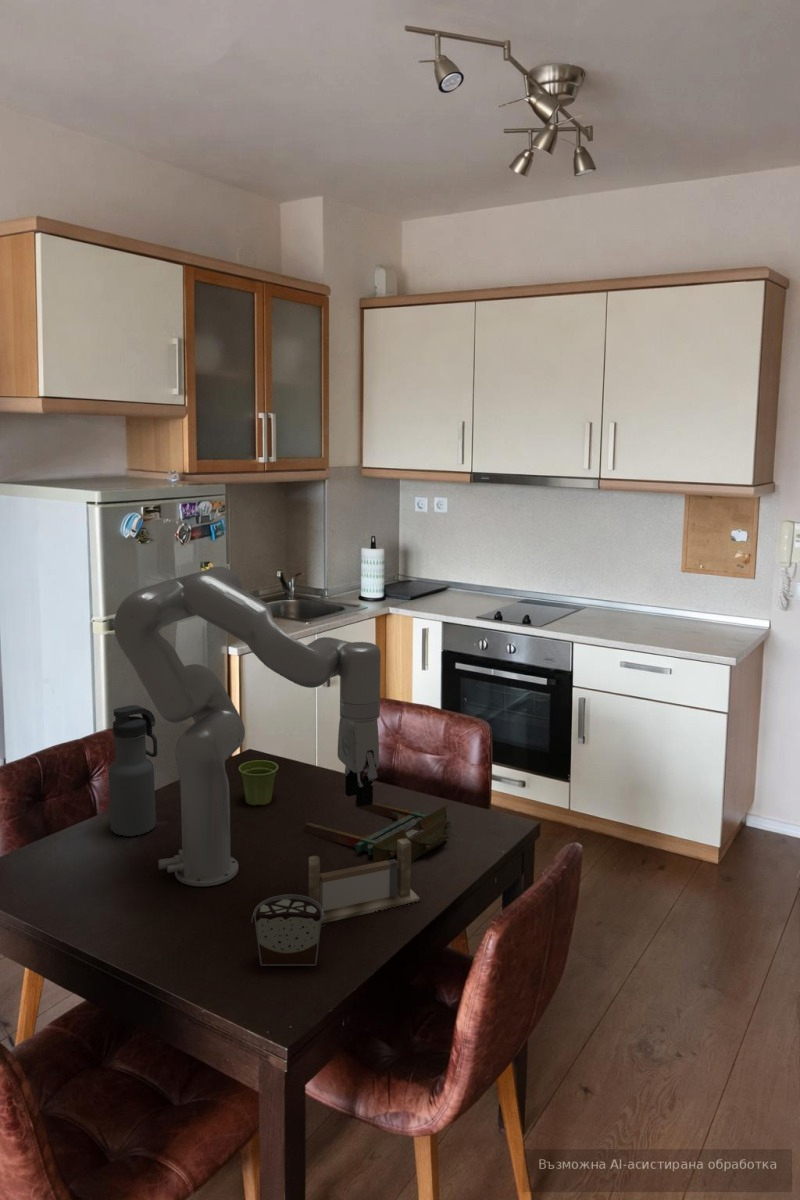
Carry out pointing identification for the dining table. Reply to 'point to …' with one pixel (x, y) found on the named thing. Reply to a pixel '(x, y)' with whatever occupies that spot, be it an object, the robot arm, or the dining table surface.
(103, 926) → the dining table surface
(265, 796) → the plant pot
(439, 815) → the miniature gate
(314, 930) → the food container
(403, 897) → the gate frame
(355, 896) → the panel
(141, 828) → the water bottle
